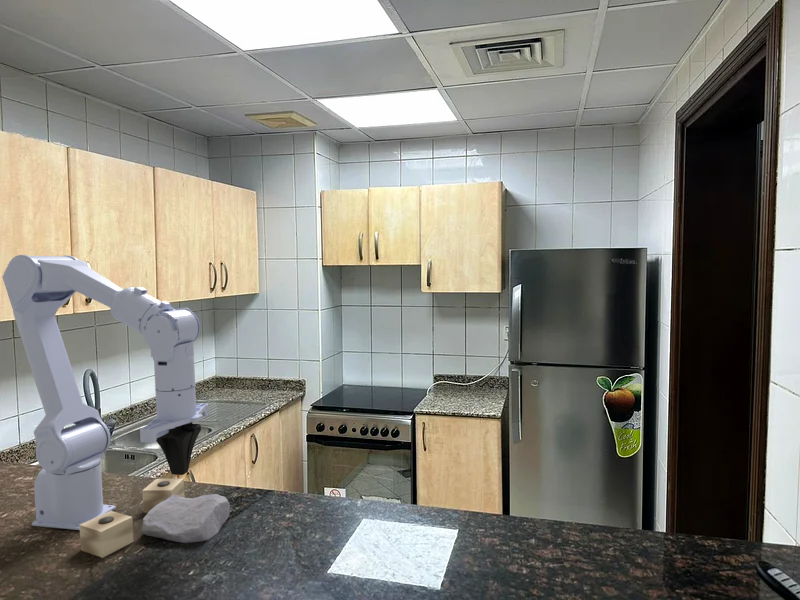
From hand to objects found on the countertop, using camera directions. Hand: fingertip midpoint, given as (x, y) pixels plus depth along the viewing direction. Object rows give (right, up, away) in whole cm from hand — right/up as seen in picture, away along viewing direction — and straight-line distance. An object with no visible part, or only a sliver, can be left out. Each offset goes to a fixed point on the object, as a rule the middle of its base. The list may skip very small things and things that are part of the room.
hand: (179, 473), depth 84 cm
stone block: (0, -10, +1) cm, 10 cm away
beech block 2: (-7, -9, +10) cm, 15 cm away
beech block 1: (-9, -10, -4) cm, 14 cm away
